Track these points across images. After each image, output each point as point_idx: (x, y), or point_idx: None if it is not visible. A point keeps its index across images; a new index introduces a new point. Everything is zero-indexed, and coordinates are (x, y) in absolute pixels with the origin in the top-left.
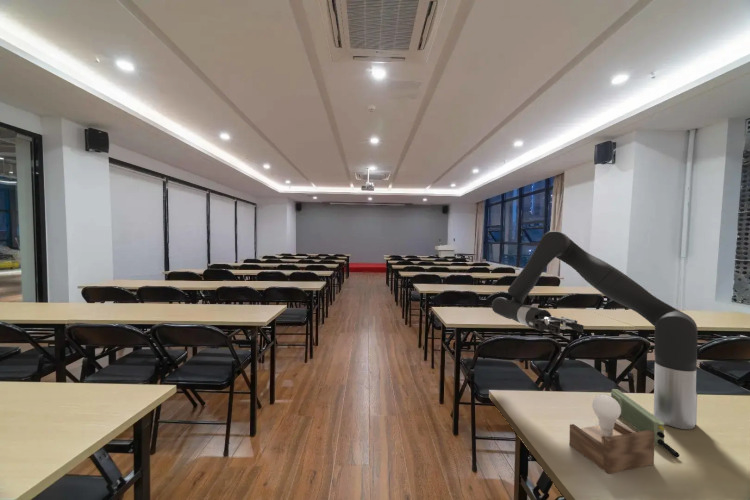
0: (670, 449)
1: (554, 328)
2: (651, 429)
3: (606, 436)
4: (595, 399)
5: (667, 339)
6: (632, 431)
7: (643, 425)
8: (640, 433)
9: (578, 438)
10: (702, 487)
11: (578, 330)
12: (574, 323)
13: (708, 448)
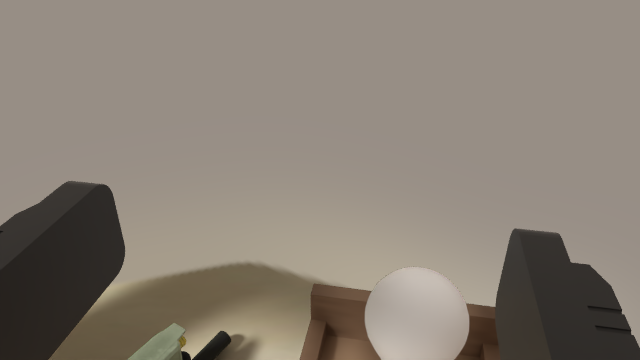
0: (217, 346)
1: (597, 284)
2: None
3: None
4: (457, 316)
5: None
6: (310, 356)
7: None
8: (360, 295)
9: None
10: (303, 288)
11: (98, 284)
12: (14, 261)
13: (83, 334)
